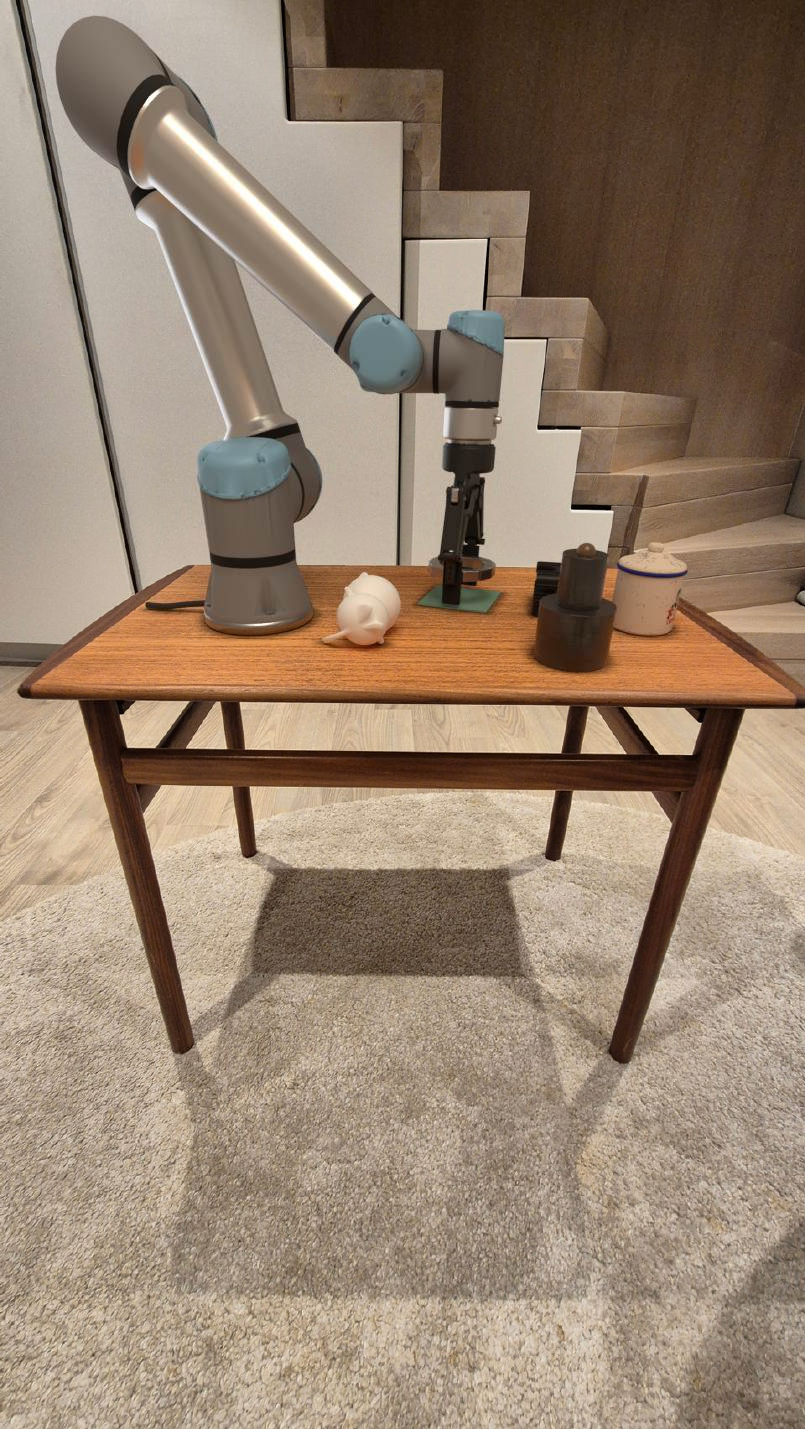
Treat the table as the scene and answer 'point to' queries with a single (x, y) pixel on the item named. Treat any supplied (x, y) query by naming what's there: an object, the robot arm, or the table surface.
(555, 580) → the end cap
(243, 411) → the robot arm
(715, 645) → the table surface
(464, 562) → the segmented gray ring
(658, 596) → the teacup with lid
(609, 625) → the dark stepped cylinder
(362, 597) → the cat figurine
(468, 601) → the mat
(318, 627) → the table surface
